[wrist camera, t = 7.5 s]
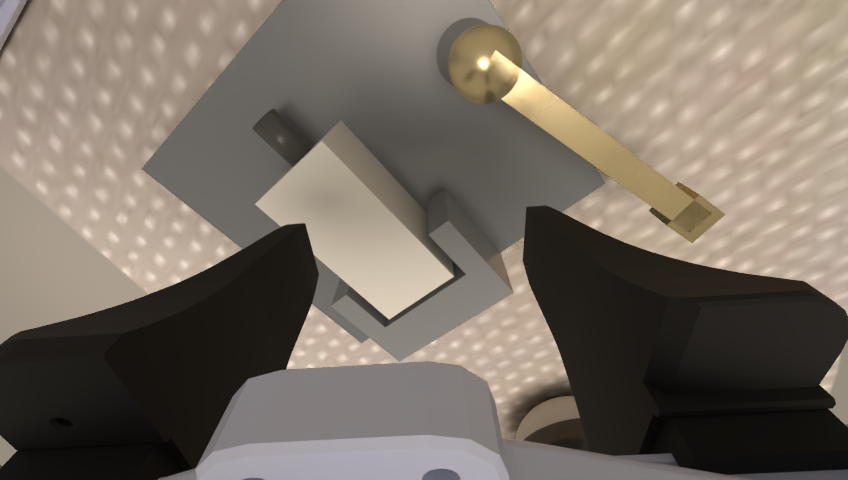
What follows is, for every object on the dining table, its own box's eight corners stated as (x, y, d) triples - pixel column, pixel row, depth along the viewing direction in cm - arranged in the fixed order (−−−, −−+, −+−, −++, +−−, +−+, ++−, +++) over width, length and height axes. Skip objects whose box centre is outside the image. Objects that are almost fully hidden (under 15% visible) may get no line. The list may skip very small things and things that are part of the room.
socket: (148, 165, 21) (80, 199, 17) (401, -135, 15) (391, -199, 10) (362, 336, 27) (351, 391, 23) (600, 179, 21) (643, 216, 17)
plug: (248, 140, 19) (209, 165, 16) (304, 80, 18) (275, 93, 14) (394, 276, 24) (388, 319, 20) (449, 237, 22) (453, 276, 19)
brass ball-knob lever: (665, 234, 17) (684, 250, 16) (435, 74, 14) (435, 78, 12) (710, 193, 16) (734, 206, 15) (473, 9, 13) (478, 7, 11)
